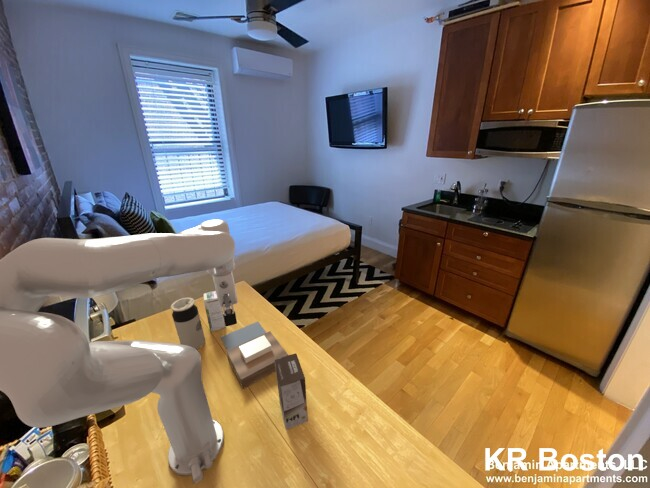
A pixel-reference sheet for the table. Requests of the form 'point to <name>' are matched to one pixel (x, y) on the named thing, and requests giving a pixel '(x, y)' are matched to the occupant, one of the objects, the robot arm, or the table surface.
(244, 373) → the brown stand
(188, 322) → the travel mug
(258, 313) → the table surface
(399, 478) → the table surface
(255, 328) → the mat
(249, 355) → the white block
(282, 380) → the coffee box
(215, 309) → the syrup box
